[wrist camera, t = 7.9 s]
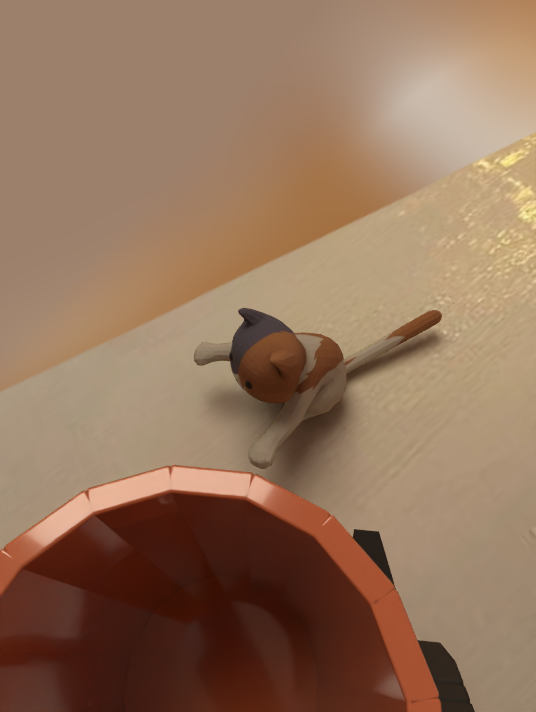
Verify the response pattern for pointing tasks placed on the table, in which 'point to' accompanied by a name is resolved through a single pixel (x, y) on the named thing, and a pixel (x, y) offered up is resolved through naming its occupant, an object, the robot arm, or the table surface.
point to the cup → (201, 605)
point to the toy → (294, 370)
